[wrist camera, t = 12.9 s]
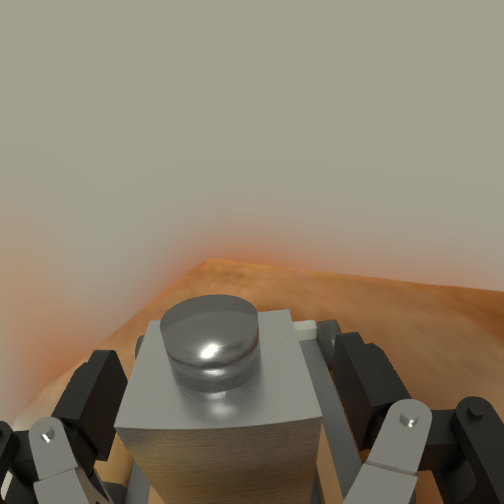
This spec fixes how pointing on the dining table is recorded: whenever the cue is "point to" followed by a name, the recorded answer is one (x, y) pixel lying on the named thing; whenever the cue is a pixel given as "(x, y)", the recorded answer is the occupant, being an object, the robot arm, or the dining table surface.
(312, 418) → the block
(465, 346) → the dining table surface
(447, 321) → the dining table surface
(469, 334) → the dining table surface
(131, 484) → the chassis
